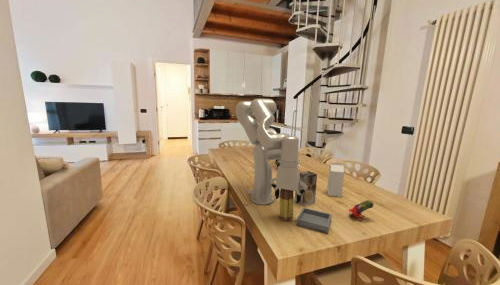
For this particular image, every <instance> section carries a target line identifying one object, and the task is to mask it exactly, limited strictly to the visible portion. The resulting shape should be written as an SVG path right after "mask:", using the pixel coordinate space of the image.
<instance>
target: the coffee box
mask: <svg viewBox="0 0 500 285" xmlns="http://www.w3.org/2000/svg"><path fill="white" fill-rule="evenodd" d="M317 178H318V175H317V173H315V172H312V171H310V170H308V171H302V172H301V171H300V181H302V182H303V183H305V184H306V185H308V187H307V189H306V190H305V192H304V193H302V194H301V201H299V203H298V204H299V205H301V206H306V205H310V204H315V203H316V191H317V181H318V180H317ZM299 188H300V189H301V190H302V189H303V188H304V187H303V186H301V185H300V187H299ZM294 193H295V194H294V202H296V201H297V192H296V191H294Z"/></svg>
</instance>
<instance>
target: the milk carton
mask: <svg viewBox="0 0 500 285" xmlns="http://www.w3.org/2000/svg"><path fill="white" fill-rule="evenodd" d="M344 177H345V167H344V163H342V162H341V163H339V162H330V164H329V167H328V176H327V188H326V191H327V194H328V196H330V197H340V198H342V197H343V196H342V195H343V186H344V179H345V178H344Z"/></svg>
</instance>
